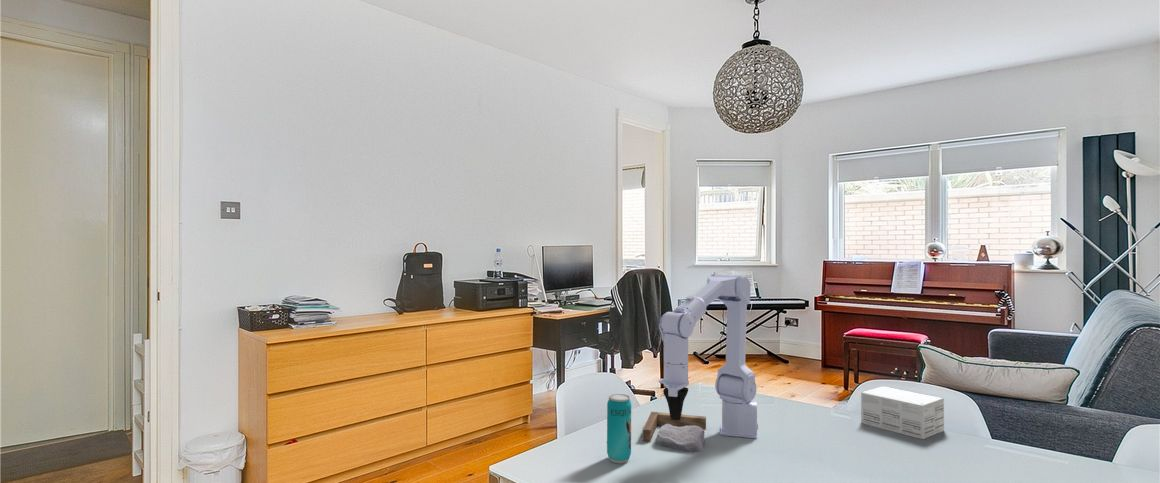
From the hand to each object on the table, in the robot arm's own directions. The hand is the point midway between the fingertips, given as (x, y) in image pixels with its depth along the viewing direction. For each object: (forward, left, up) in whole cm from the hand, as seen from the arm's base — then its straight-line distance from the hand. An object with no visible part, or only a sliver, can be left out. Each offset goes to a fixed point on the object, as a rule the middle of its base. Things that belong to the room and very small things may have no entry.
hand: (675, 419), depth 130 cm
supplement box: (-60, -43, -10) cm, 75 cm away
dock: (+2, -18, -10) cm, 20 cm away
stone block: (0, -11, -10) cm, 15 cm away
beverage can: (+13, +4, -10) cm, 17 cm away
